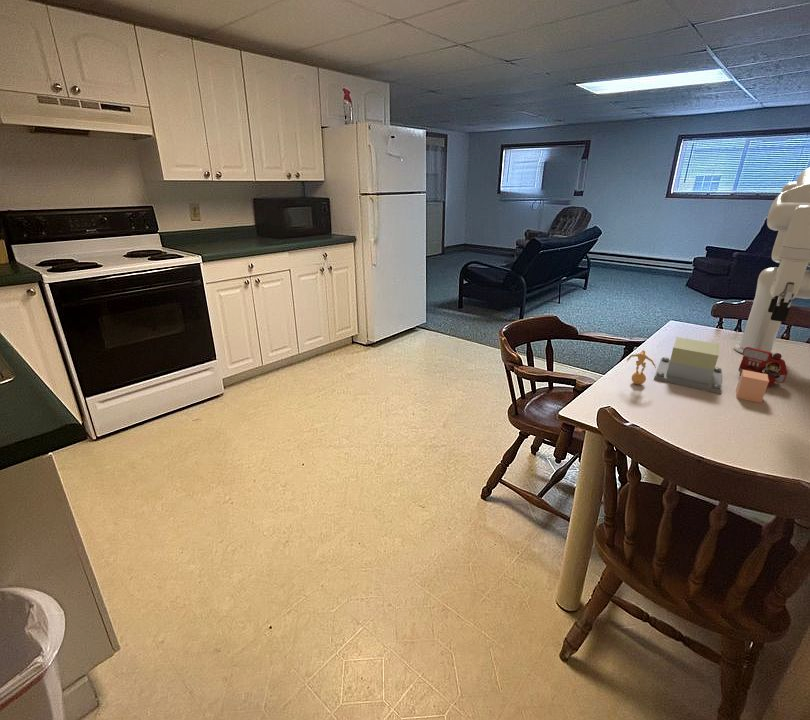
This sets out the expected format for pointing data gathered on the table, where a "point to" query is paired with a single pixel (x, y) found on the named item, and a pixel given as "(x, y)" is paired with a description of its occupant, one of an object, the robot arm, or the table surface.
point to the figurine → (638, 376)
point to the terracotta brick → (752, 386)
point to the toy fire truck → (764, 364)
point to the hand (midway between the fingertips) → (775, 316)
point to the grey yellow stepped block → (692, 365)
